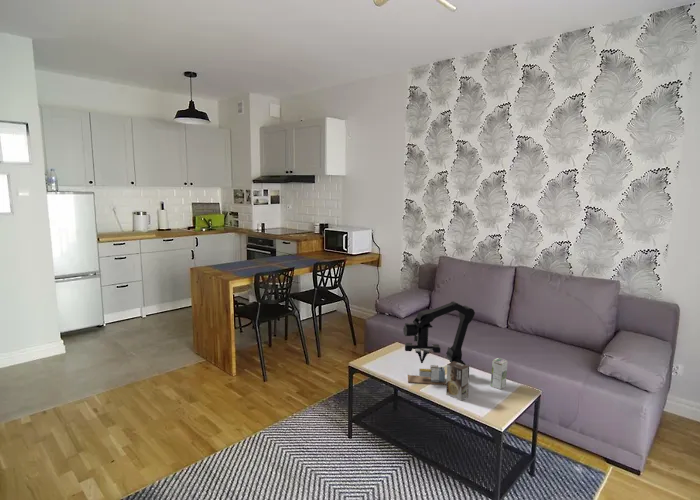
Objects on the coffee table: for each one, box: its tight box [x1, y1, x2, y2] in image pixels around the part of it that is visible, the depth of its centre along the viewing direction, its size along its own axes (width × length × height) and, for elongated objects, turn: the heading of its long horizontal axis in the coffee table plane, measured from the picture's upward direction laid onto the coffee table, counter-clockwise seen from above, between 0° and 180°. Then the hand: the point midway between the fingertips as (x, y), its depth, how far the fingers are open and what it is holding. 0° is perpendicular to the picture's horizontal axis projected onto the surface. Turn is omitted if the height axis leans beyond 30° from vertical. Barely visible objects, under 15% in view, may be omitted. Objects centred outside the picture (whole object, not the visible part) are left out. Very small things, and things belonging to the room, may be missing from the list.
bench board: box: [407, 374, 447, 386], centre depth 226 cm, size 20×8×1 cm, turn 84°
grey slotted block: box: [429, 364, 439, 382], centre depth 225 cm, size 4×7×7 cm, turn 174°
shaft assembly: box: [418, 366, 446, 383], centre depth 225 cm, size 13×5×6 cm, turn 84°
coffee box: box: [445, 361, 470, 401], centre depth 209 cm, size 9×6×16 cm
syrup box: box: [490, 357, 509, 390], centre depth 219 cm, size 6×6×14 cm
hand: (421, 362), depth 228 cm, fingers closed
